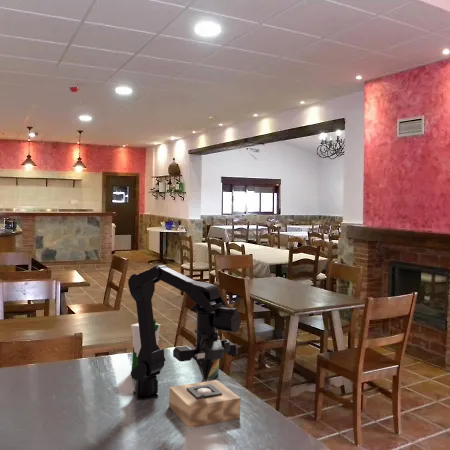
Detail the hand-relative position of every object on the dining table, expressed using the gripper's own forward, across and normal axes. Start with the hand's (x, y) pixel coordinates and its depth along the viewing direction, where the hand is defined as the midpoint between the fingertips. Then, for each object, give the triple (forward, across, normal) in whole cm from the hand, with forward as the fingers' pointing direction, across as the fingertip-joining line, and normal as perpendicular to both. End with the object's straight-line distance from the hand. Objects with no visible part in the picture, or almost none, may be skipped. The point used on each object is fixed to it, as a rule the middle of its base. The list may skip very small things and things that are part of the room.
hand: (204, 379), depth 145 cm
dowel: (+9, 0, 0) cm, 9 cm away
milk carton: (+10, -6, +39) cm, 41 cm away
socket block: (+10, 0, 0) cm, 10 cm away
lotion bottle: (+10, +14, +25) cm, 31 cm away
